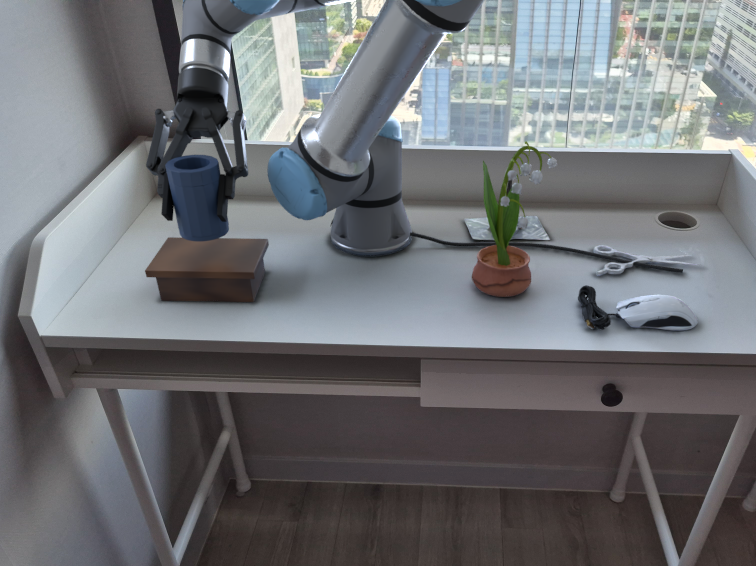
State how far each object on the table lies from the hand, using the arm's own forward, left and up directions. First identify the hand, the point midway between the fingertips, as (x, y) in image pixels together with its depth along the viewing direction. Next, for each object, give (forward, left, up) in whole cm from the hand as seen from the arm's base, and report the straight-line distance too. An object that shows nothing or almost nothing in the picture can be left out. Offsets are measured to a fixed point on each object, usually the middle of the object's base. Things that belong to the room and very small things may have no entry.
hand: (194, 217), depth 105 cm
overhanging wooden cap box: (0, -3, -14) cm, 14 cm away
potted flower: (-49, -4, -14) cm, 51 cm away
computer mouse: (-69, +5, -14) cm, 71 cm away
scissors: (-75, -14, -14) cm, 78 cm away
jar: (0, -3, -4) cm, 5 cm away
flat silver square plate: (-51, -27, -14) cm, 60 cm away
